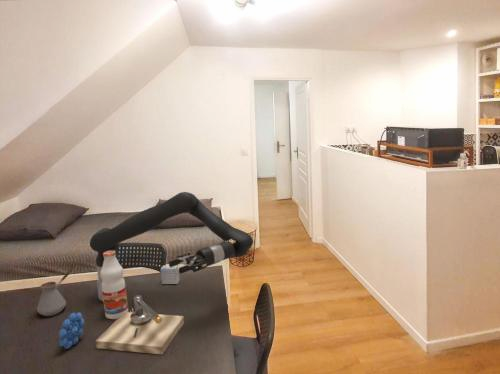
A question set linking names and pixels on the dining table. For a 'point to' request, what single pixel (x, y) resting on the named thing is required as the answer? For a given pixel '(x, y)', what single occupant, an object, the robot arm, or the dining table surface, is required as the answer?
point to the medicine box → (169, 275)
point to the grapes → (71, 330)
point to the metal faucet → (143, 312)
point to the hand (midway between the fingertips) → (174, 267)
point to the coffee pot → (51, 298)
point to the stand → (140, 334)
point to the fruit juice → (113, 286)
